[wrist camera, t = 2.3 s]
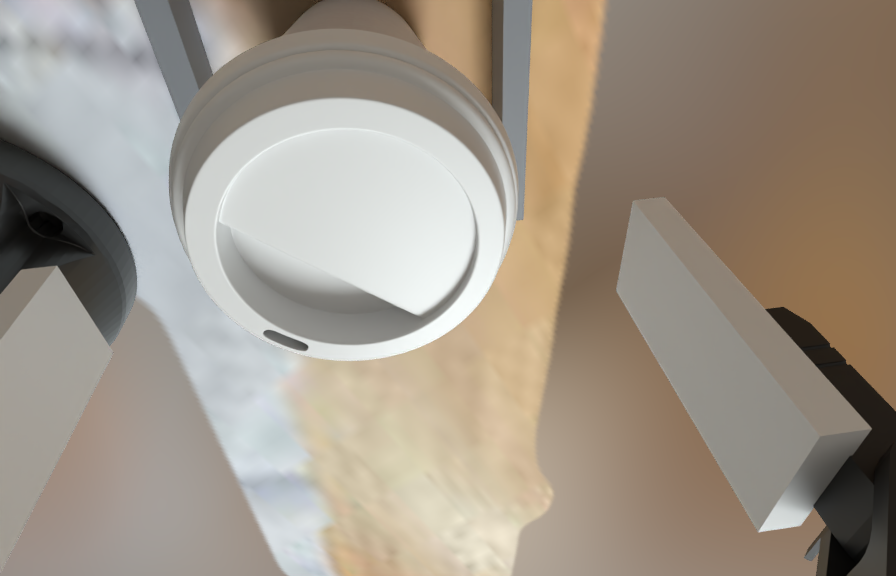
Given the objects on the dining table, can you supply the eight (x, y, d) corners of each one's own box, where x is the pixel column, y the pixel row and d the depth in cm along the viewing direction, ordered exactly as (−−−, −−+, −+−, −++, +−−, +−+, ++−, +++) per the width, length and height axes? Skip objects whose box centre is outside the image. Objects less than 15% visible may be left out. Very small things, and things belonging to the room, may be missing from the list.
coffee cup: (201, 37, 23) (45, 210, 12) (381, -100, 21) (408, -53, 10) (336, 196, 29) (321, 420, 17) (489, 102, 27) (589, 285, 15)
